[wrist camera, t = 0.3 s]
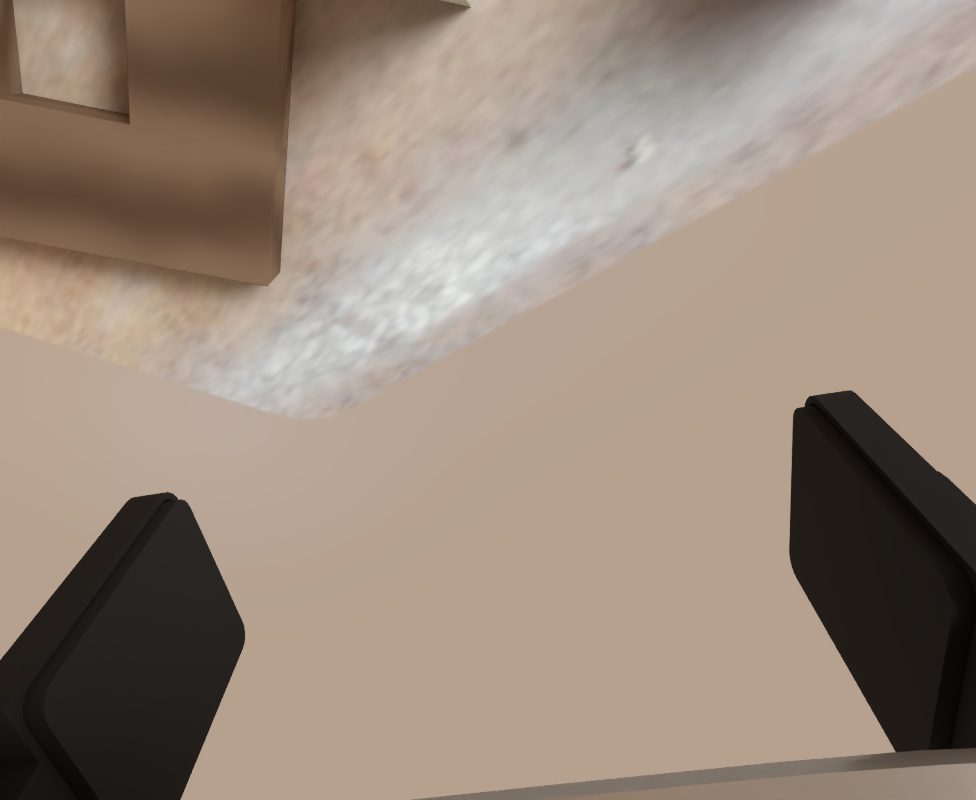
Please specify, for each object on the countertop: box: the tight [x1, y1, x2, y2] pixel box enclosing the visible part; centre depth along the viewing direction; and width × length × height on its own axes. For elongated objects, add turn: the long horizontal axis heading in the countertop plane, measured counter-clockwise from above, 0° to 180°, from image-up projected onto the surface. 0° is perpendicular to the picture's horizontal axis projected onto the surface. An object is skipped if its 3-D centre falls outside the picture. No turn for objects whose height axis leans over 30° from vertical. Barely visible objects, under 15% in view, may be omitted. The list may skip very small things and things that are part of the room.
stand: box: [0, 0, 296, 286], centre depth 32 cm, size 20×20×2 cm
